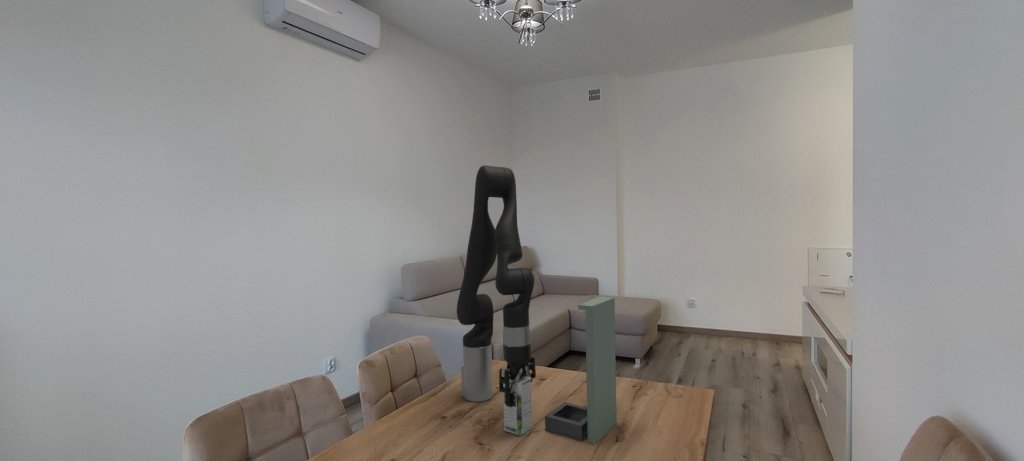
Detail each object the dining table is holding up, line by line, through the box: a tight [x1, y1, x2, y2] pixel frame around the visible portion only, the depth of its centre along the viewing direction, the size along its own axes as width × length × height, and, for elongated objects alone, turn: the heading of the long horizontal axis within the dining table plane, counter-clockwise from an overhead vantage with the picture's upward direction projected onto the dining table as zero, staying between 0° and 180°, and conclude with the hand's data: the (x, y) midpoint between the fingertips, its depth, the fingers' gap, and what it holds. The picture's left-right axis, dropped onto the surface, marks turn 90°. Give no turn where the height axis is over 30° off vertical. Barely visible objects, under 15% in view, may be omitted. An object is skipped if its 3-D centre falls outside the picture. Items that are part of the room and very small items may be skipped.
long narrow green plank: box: [577, 295, 618, 445], centre depth 121 cm, size 4×14×35 cm, turn 145°
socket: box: [544, 401, 588, 442], centre depth 124 cm, size 11×11×4 cm
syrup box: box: [502, 376, 533, 437], centre depth 124 cm, size 6×6×14 cm
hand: (518, 400), depth 124 cm, fingers open, 8 cm apart
